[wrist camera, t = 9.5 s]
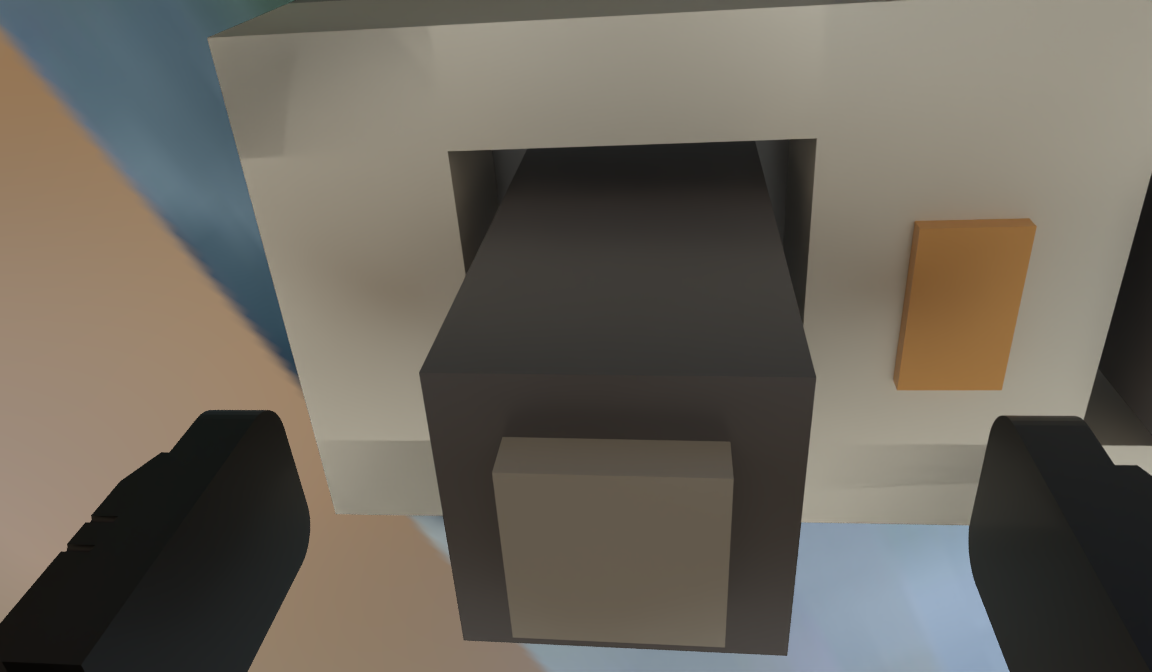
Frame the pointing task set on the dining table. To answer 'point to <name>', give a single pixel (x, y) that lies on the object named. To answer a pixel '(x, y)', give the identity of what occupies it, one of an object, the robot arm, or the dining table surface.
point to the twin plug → (1133, 325)
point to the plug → (625, 406)
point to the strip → (795, 185)
